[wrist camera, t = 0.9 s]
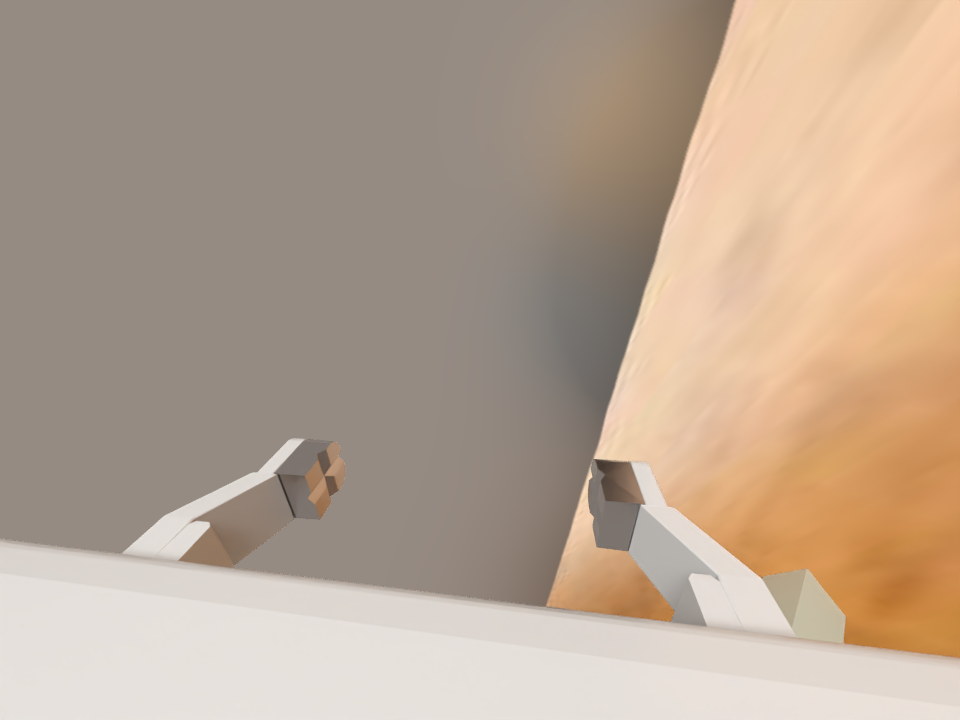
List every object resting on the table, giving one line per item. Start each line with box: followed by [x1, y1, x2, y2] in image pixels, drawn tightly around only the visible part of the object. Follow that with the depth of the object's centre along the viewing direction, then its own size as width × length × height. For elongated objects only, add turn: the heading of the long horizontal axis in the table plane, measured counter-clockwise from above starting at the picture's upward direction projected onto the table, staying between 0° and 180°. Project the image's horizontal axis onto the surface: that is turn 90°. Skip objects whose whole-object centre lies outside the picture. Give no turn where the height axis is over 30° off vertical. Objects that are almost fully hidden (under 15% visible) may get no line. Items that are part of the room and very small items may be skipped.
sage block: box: [762, 569, 846, 643], centre depth 36 cm, size 5×5×12 cm
